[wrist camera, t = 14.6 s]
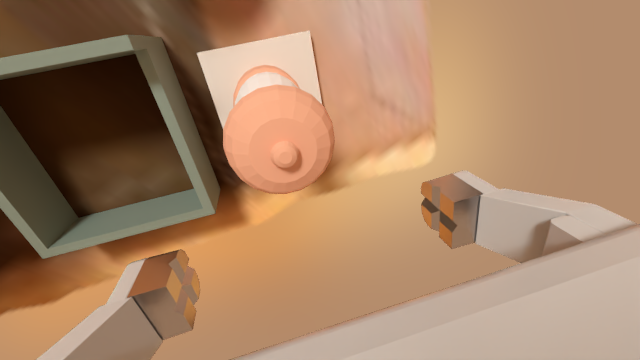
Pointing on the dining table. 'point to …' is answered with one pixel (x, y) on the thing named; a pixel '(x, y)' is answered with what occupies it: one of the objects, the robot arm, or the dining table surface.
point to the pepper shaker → (276, 132)
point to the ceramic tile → (238, 59)
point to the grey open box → (43, 195)
